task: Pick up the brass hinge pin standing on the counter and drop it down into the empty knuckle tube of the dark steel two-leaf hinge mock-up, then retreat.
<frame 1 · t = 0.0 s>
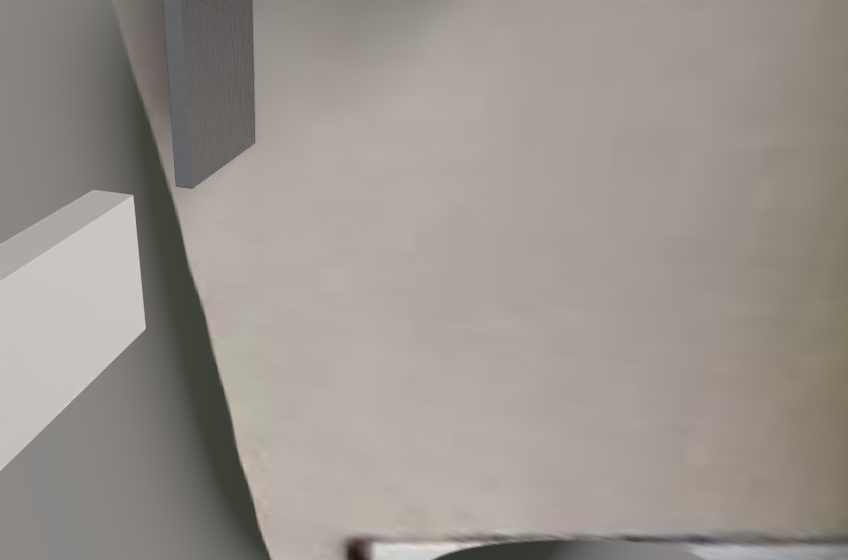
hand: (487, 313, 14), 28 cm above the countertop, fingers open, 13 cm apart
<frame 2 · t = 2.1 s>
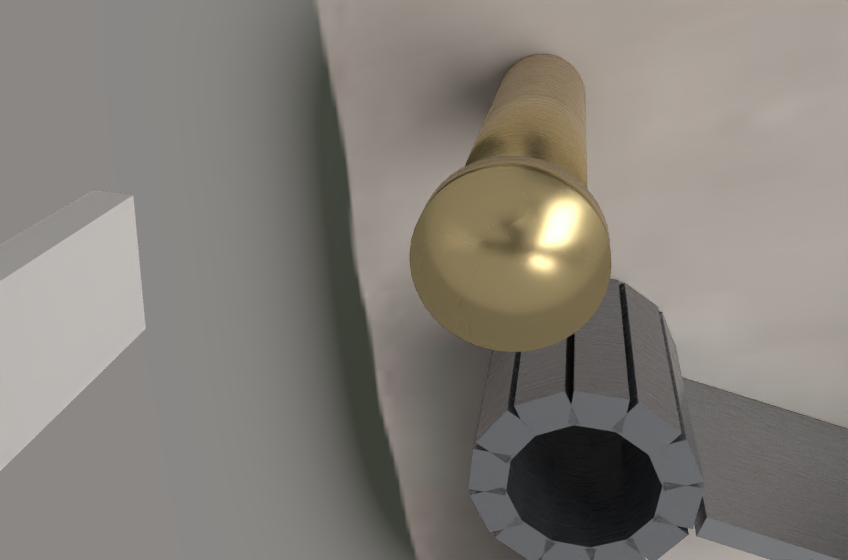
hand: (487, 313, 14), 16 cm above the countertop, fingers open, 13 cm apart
hinge leaf swing: (825, 490, 27), point 4 cm above the countertop, hinge at 80.0°
hinge leaf fixed: (582, 355, 31), on the countertop
pin: (541, 98, 27), on the countertop
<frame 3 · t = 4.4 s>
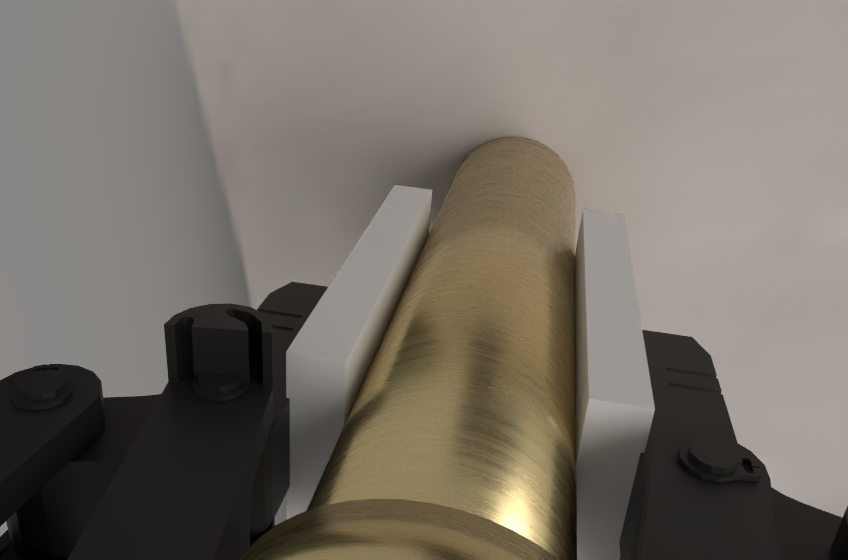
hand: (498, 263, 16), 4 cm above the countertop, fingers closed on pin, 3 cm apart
pin: (512, 197, 19), on the countertop, touching gripper
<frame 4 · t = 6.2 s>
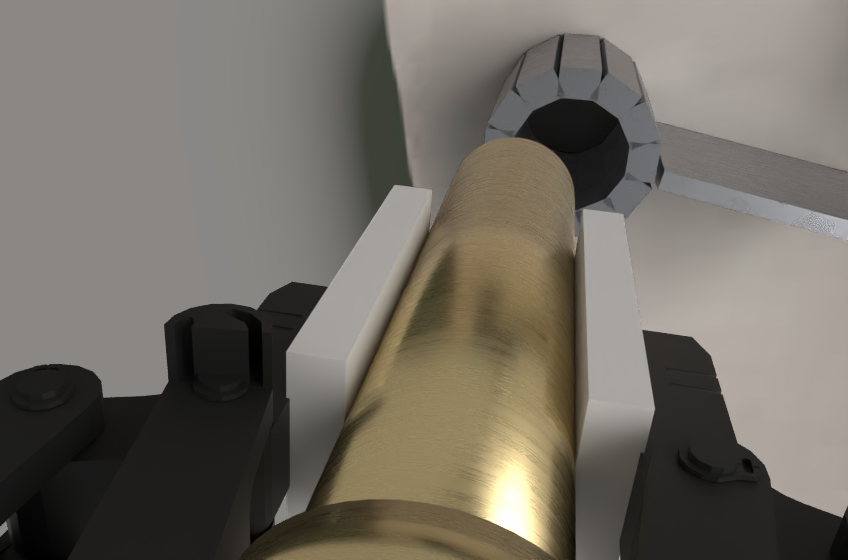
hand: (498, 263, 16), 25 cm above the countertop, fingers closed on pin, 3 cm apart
hinge leaf swing: (763, 180, 35), point 4 cm above the countertop, hinge at 80.0°
hinge leaf fixed: (572, 107, 39), on the countertop
pin: (512, 197, 19), point 21 cm above the countertop, touching gripper
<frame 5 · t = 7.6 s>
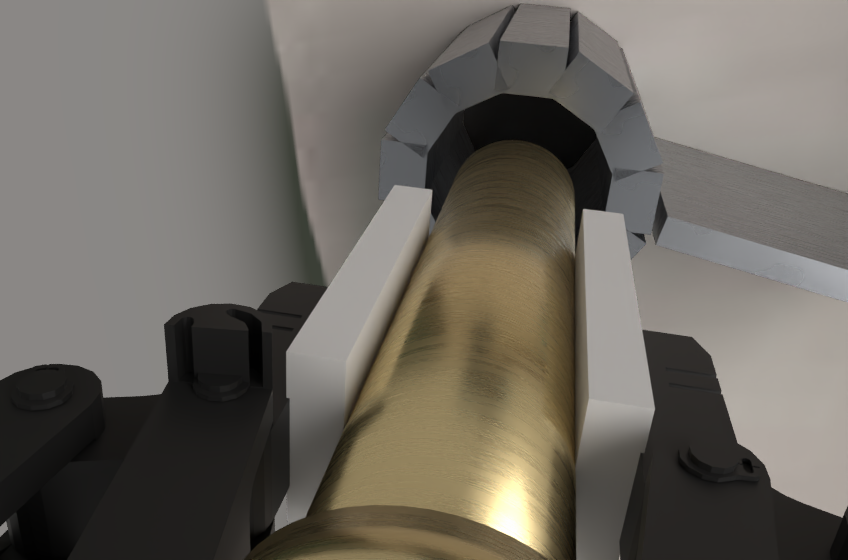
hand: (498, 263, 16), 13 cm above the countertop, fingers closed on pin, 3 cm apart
hinge leaf swing: (814, 230, 23), point 4 cm above the countertop, hinge at 80.0°
hinge leaf fixed: (531, 113, 27), on the countertop
pin: (512, 199, 19), point 9 cm above the countertop, touching gripper
when the fingers open (10 cm above the countertop, at t = 8.4 s): pin drops 6 cm, resting in hinge leaf fixed.
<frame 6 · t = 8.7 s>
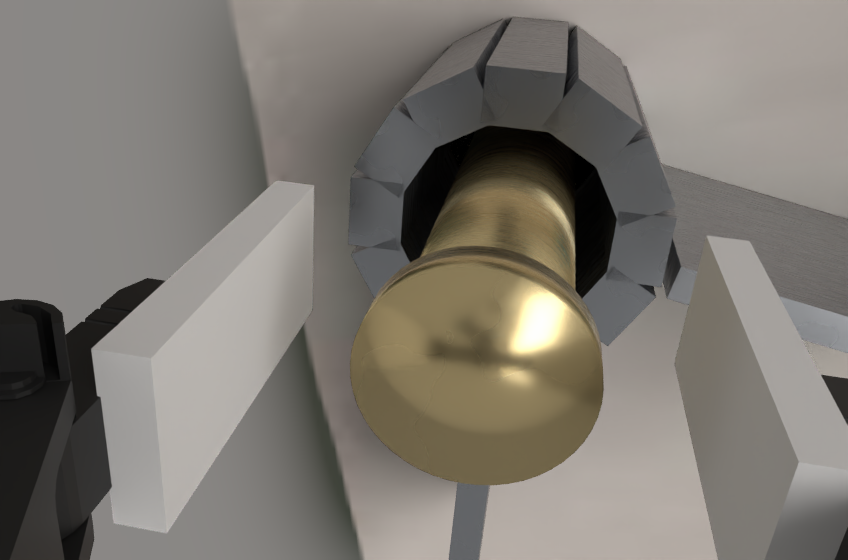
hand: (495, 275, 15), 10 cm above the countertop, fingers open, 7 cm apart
hinge leaf swing: (843, 274, 20), point 4 cm above the countertop, hinge at 80.0°
hinge leaf fixed: (525, 137, 24), on the countertop
pin: (525, 138, 24), resting in hinge leaf fixed
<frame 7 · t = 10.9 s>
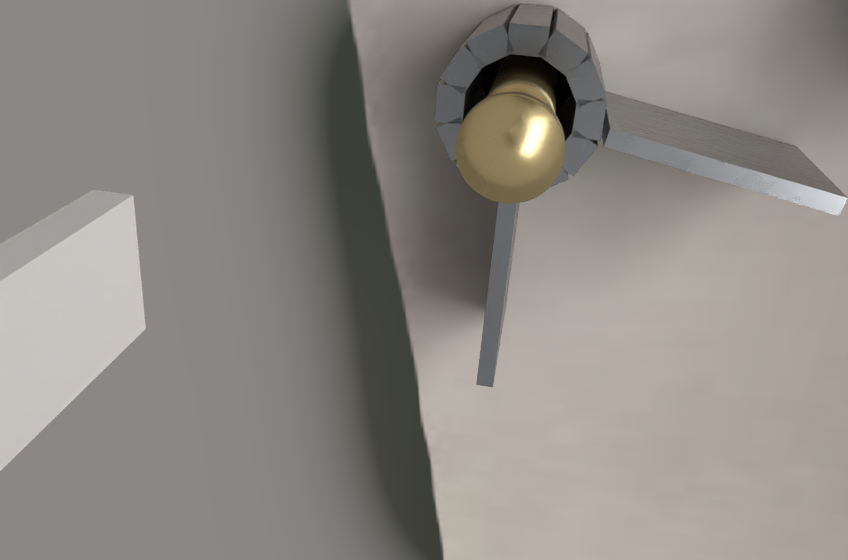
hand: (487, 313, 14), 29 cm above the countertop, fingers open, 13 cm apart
hinge leaf swing: (708, 146, 36), point 4 cm above the countertop, hinge at 80.0°
hinge leaf fixed: (527, 77, 40), on the countertop
pin: (527, 78, 40), resting in hinge leaf fixed
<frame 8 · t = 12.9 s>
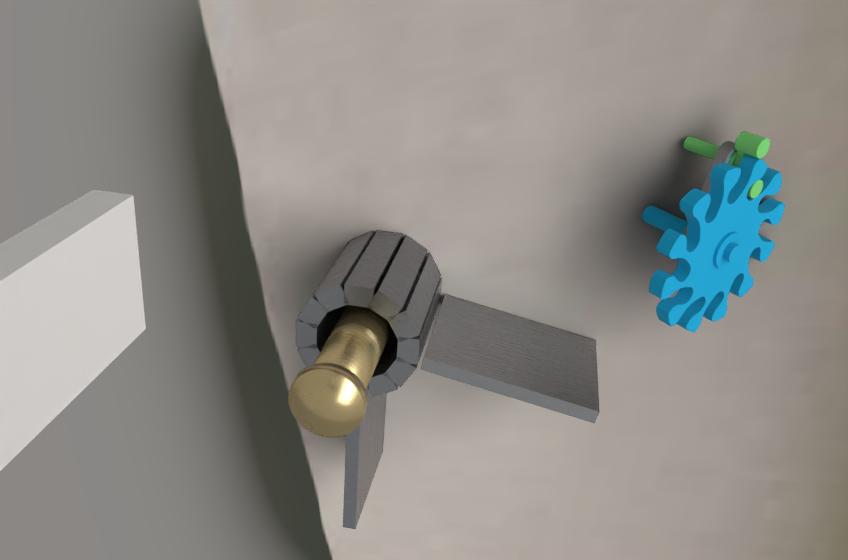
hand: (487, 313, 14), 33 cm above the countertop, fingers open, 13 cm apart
hinge leaf swing: (514, 353, 47), point 4 cm above the countertop, hinge at 80.0°
hinge leaf fixed: (387, 282, 51), on the countertop
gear: (710, 211, 46), on the countertop
pin: (387, 282, 51), resting in hinge leaf fixed
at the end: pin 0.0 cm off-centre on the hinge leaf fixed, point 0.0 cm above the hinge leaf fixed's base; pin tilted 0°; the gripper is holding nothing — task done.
